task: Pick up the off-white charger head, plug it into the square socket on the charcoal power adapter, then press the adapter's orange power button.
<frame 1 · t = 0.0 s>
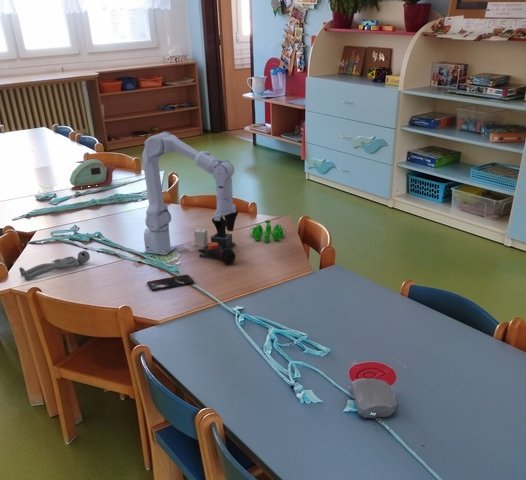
hand: (226, 234, 211), 10 cm above the table, tool pointing down, fingers open, 7 cm apart
toy snail: (94, 186, 308), on the table
adapter: (217, 251, 224), on the table
charger: (201, 245, 230), on the table
chandelier: (267, 237, 237), on the table
alien figure: (58, 271, 209), on the table
stone block: (374, 404, 137), on the table
socket: (222, 247, 228), resting on adapter
power button: (213, 246, 219), point 3 cm above the table, slide at 0.1 cm
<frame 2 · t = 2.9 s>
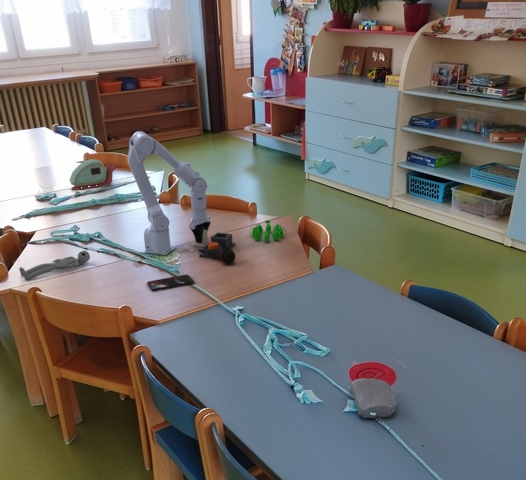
hand: (201, 241, 229), 2 cm above the table, tool pointing down, fingers closed on charger, 3 cm apart
charger: (201, 245, 230), on the table, touching gripper
everything else where it was.
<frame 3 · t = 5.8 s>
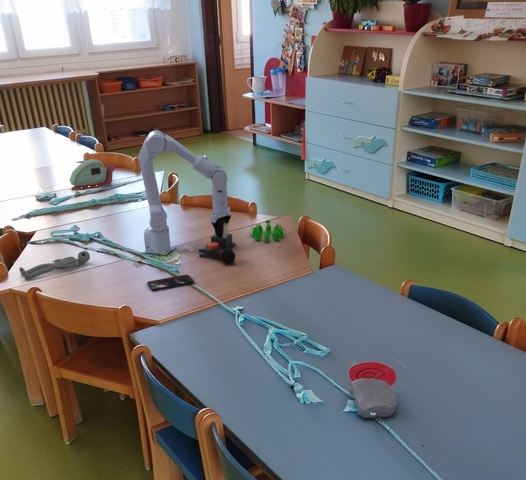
hand: (221, 235, 225), 5 cm above the table, tool pointing down, fingers closed on charger, 3 cm apart
charger: (221, 239, 226), point 4 cm above the table, touching gripper
everything else where it was.
when the fingers open (6 cm above the table, at t = 9.0 s): charger stays where it is, resting on socket.
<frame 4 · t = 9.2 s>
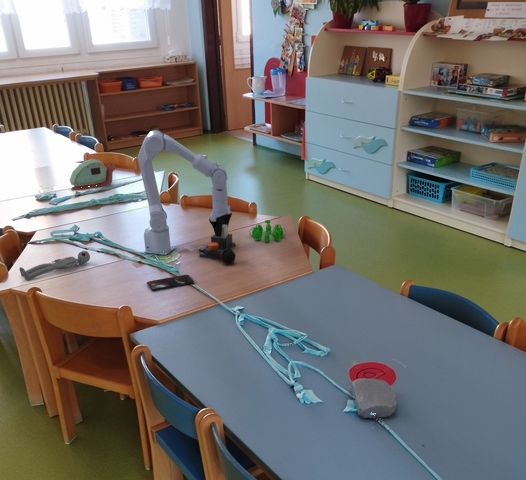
hand: (221, 233, 225), 6 cm above the table, tool pointing down, fingers open, 5 cm apart
charger: (221, 240, 226), point 3 cm above the table, touching socket
everything else where it was.
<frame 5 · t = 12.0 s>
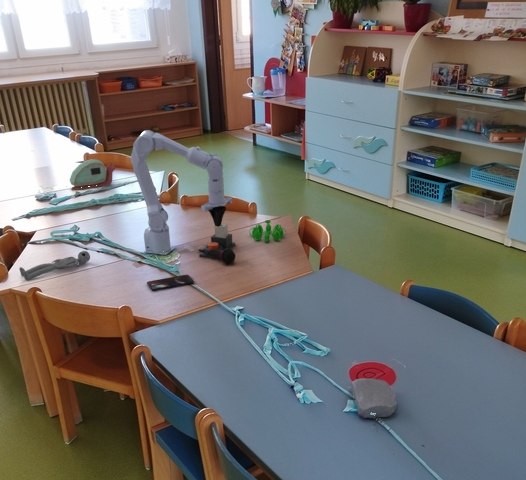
hand: (217, 225, 220), 10 cm above the table, tool pointing down, fingers closed
nothing on the table moved.
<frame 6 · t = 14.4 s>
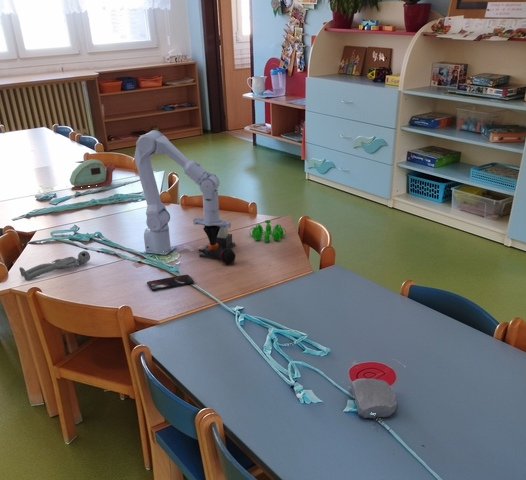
hand: (213, 244, 219), 4 cm above the table, tool pointing down, fingers closed, pressing on power button
power button: (213, 246, 219), point 3 cm above the table, slide at 0.0 cm, touching gripper
everything else where it was.
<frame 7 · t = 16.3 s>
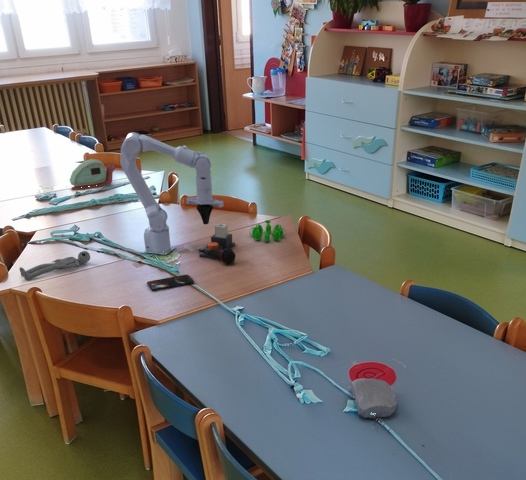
hand: (206, 223, 221), 10 cm above the table, tool pointing down, fingers closed
power button: (213, 246, 219), point 3 cm above the table, slide at 0.1 cm
everything else where it was.
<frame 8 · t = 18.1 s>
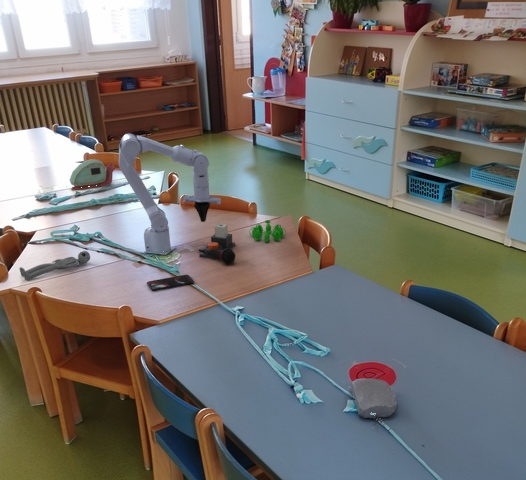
hand: (203, 221, 224), 10 cm above the table, tool pointing down, fingers closed
nothing on the table moved.
at the end: charger 0.0 cm off-centre on the socket, point 3.1 cm above the socket's base; power button pushed in 1.1 cm at the most during the clip, back to where it started at the end; power button slide at 0.1 cm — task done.
